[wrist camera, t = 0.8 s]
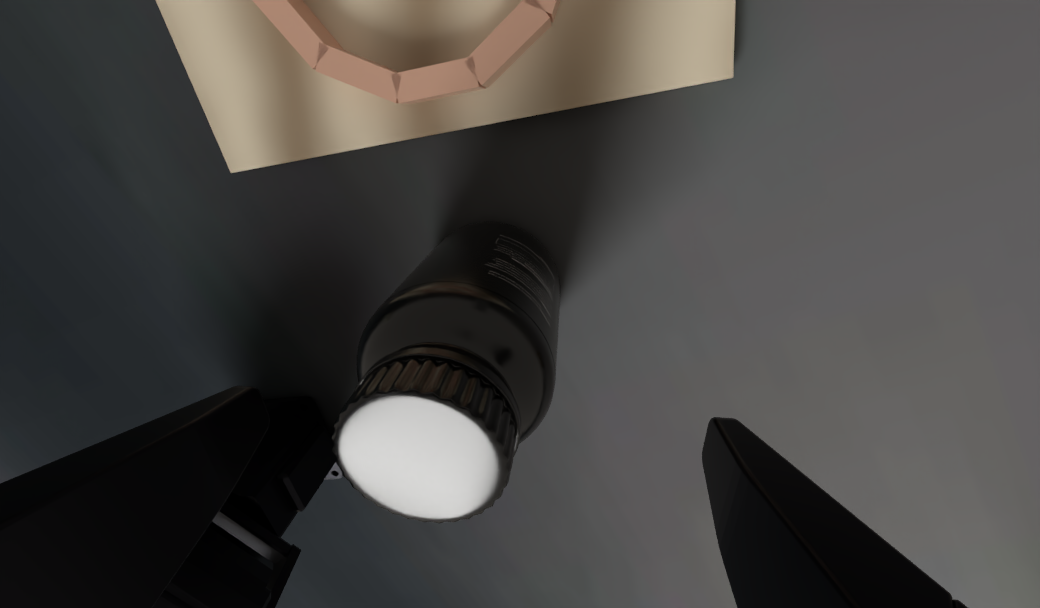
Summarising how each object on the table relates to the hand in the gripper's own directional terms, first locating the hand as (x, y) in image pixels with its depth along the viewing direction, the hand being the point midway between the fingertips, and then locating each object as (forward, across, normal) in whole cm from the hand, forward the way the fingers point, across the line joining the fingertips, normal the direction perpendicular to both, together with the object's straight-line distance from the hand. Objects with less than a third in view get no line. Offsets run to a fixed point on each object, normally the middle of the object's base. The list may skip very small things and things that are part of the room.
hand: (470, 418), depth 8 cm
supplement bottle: (+13, +2, +3) cm, 14 cm away
